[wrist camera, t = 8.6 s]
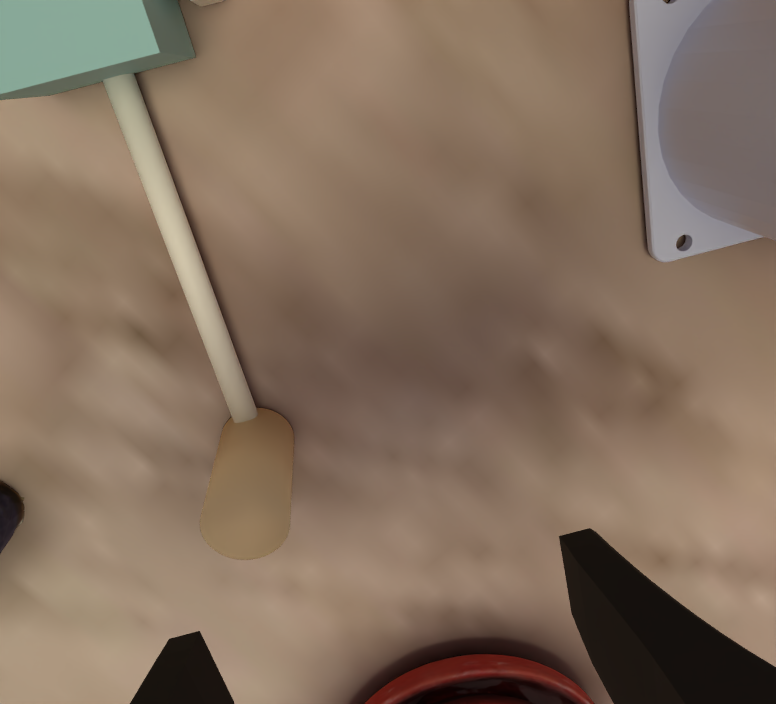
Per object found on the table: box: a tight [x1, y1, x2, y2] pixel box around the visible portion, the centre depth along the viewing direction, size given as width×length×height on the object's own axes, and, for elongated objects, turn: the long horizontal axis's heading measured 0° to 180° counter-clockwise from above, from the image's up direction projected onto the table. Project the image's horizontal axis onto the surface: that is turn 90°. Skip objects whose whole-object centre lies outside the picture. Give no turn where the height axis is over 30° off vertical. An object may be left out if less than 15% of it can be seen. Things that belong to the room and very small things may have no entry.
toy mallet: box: [0, 0, 294, 560], centre depth 17 cm, size 4×17×4 cm, turn 13°
